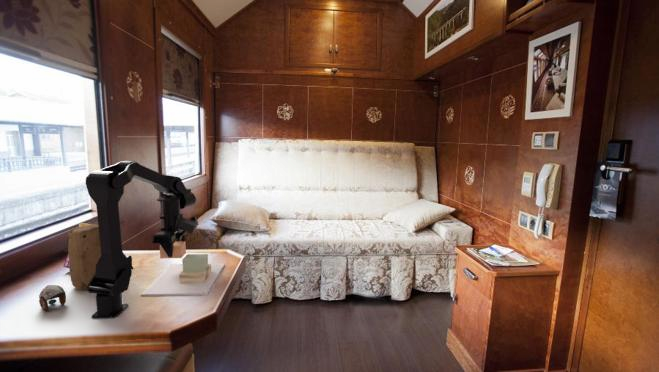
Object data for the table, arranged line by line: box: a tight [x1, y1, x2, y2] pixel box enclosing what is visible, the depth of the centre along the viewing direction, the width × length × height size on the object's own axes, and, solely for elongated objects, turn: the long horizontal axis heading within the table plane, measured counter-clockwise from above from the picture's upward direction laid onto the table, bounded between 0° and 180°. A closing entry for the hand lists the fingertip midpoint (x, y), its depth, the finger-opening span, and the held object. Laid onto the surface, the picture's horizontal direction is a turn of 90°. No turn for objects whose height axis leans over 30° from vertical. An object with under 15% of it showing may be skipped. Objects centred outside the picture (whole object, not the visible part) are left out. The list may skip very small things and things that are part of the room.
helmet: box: [38, 284, 67, 312], centre depth 91 cm, size 6×8×7 cm
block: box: [67, 223, 101, 291], centre depth 105 cm, size 11×8×20 cm
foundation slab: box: [179, 263, 212, 283], centre depth 113 cm, size 9×8×3 cm
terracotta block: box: [159, 240, 187, 259], centre depth 115 cm, size 5×7×4 cm
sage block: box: [181, 253, 209, 272], centre depth 112 cm, size 5×7×4 cm
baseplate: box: [140, 263, 225, 297], centre depth 113 cm, size 24×20×1 cm
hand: (173, 254), depth 115 cm, fingers closed on terracotta block, 5 cm apart
